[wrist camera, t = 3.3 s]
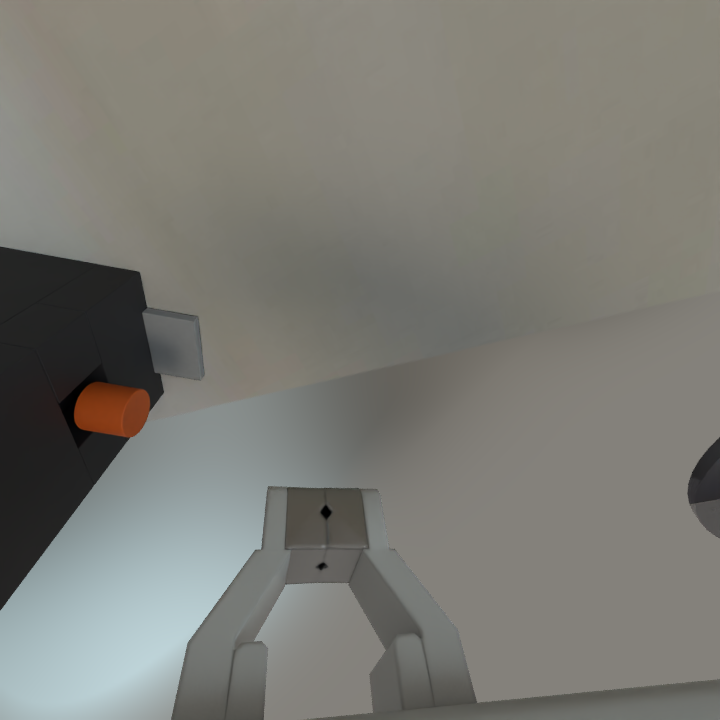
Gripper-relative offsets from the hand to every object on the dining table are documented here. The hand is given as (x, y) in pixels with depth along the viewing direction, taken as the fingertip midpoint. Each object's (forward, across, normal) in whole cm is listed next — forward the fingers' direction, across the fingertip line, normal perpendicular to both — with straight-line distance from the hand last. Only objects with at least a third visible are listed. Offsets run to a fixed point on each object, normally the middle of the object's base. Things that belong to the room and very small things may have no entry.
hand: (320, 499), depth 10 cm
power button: (+15, -12, -11) cm, 22 cm away
